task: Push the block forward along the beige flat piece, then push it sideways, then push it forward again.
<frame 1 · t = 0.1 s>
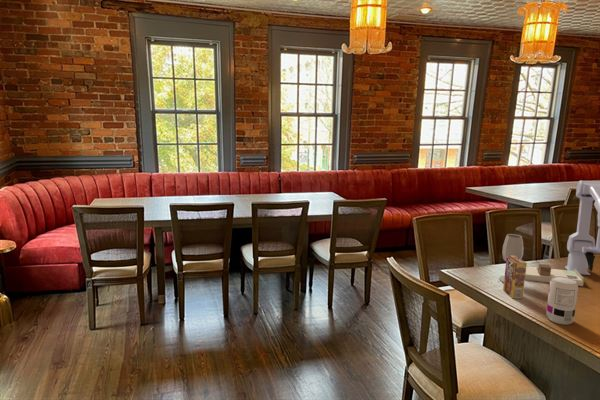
wineglass: (509, 281, 175), on the table
candy box: (512, 294, 161), on the table
block: (543, 274, 176), point 2 cm above the table, touching beige flat piece
beige flat piece: (549, 277, 179), on the table
supplement can: (559, 320, 140), on the table
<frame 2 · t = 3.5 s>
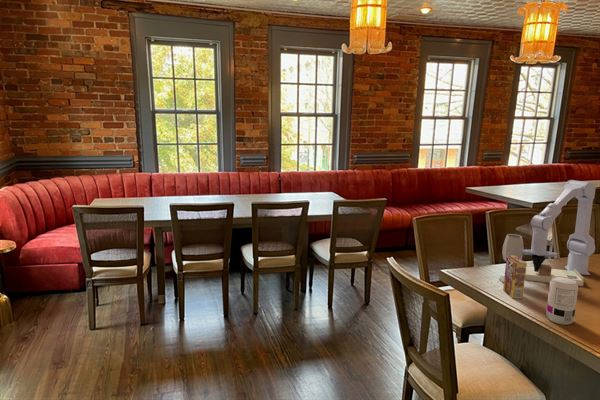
hand: (536, 271, 177), 4 cm above the table, tool pointing down, fingers closed
block: (544, 274, 176), point 3 cm above the table, touching beige flat piece, gripper
everything else where it was.
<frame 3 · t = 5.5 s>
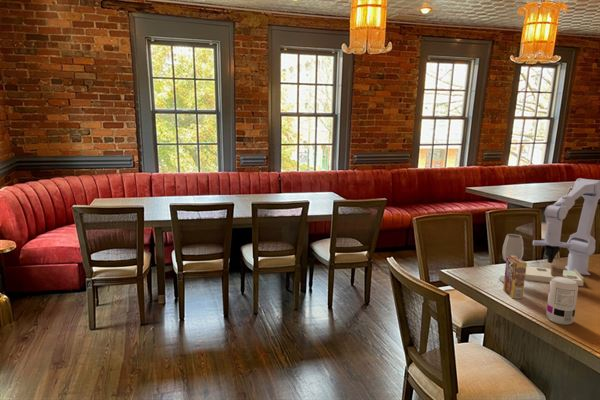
hand: (549, 262, 175), 8 cm above the table, tool pointing down, fingers closed
block: (556, 275, 175), point 2 cm above the table, touching beige flat piece
everything else where it was.
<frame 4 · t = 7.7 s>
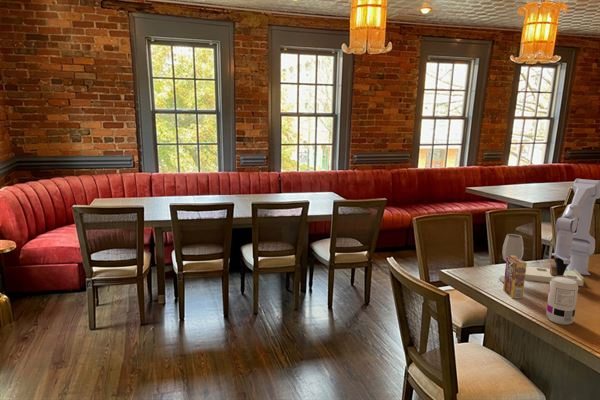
hand: (560, 274, 172), 4 cm above the table, tool pointing down, fingers closed, pressing on block
block: (555, 274, 176), point 3 cm above the table, touching beige flat piece, gripper
everything else where it was.
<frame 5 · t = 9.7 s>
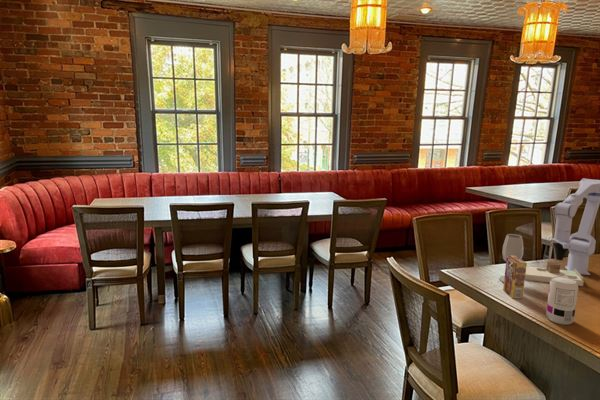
hand: (559, 259, 175), 9 cm above the table, tool pointing down, fingers closed
block: (552, 271, 180), point 2 cm above the table, touching beige flat piece
everything else where it was.
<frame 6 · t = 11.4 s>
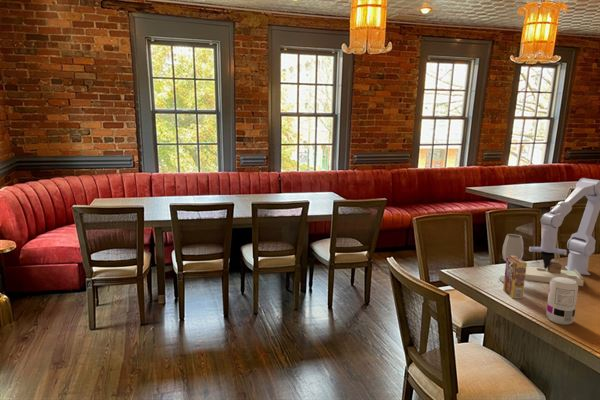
hand: (545, 267, 181), 4 cm above the table, tool pointing down, fingers closed, pressing on block
block: (553, 271, 179), point 3 cm above the table, touching beige flat piece, gripper
everything else where it was.
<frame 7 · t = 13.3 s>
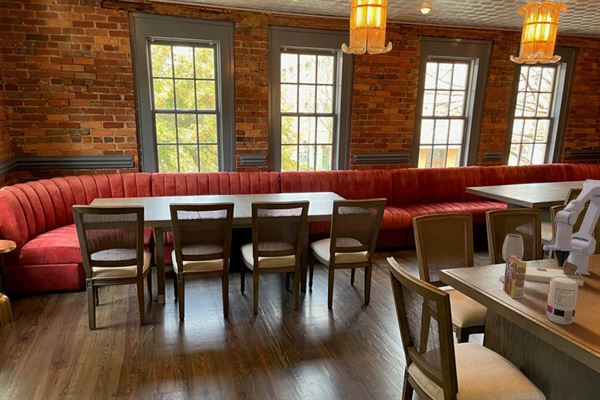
hand: (560, 266, 179), 5 cm above the table, tool pointing down, fingers closed
block: (567, 272, 177), point 3 cm above the table, tilted 17°, touching beige flat piece
everything else where it was.
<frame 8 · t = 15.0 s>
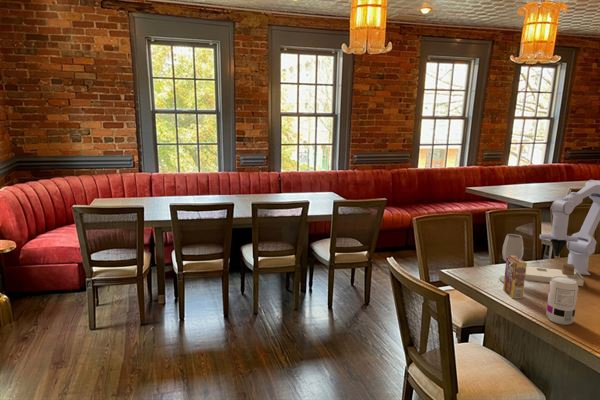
hand: (556, 255, 179), 10 cm above the table, tool pointing down, fingers closed
block: (567, 273, 177), point 2 cm above the table, touching beige flat piece
everything else where it was.
at the end: block 1.6 cm from the target spot, point 2.5 cm above the table; block tilted 0° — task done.
